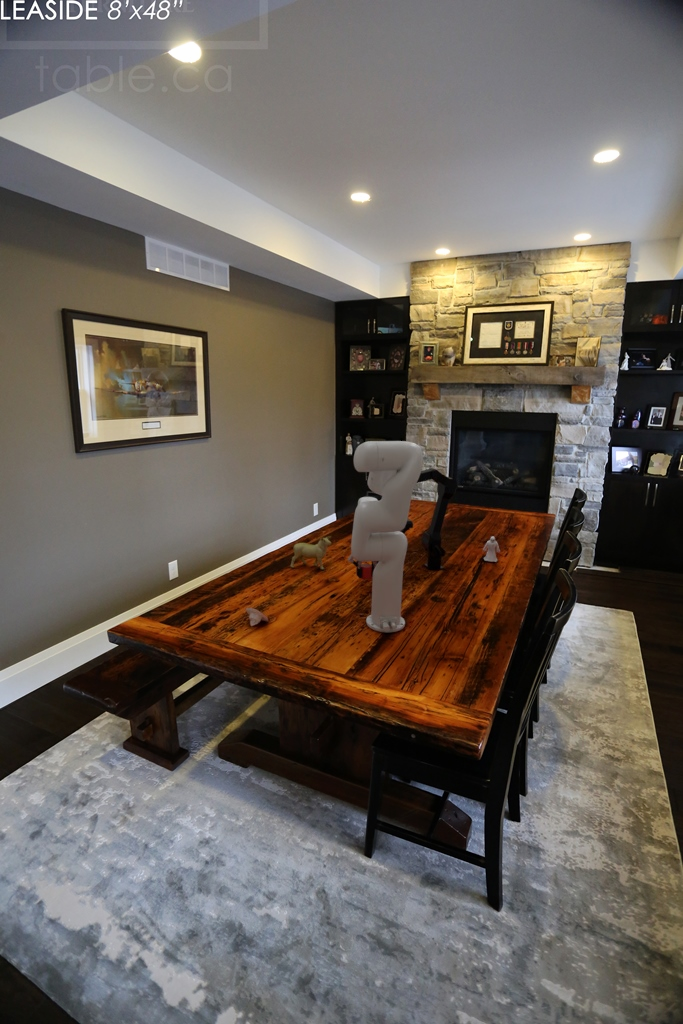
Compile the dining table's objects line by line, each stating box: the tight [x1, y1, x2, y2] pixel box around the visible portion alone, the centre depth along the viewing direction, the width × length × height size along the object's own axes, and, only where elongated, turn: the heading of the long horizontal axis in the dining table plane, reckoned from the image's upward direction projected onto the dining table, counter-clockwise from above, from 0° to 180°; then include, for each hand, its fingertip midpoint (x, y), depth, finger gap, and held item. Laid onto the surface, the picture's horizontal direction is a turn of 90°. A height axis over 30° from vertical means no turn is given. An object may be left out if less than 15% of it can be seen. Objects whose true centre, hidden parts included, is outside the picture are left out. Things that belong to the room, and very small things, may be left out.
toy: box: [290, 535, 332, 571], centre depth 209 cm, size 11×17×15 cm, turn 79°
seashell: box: [245, 607, 269, 627], centre depth 160 cm, size 8×5×8 cm
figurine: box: [482, 535, 501, 563], centre depth 223 cm, size 8×8×12 cm
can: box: [361, 563, 373, 580], centre depth 189 cm, size 4×4×5 cm
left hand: (365, 576), depth 189 cm, fingers closed on can, 4 cm apart
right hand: (388, 544), depth 206 cm, fingers open, 9 cm apart
